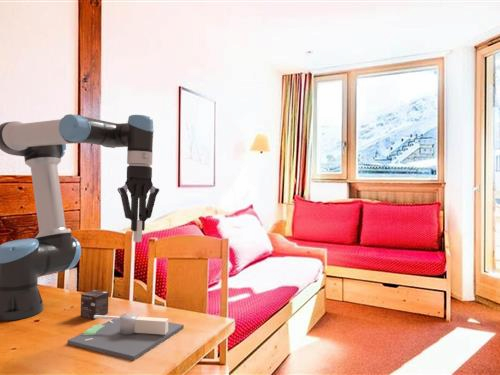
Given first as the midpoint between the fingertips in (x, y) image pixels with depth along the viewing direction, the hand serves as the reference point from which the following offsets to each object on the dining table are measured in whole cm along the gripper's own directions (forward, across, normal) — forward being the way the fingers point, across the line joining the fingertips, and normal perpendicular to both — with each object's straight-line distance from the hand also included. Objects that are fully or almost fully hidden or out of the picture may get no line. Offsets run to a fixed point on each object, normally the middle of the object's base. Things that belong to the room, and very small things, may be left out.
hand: (137, 241), depth 113 cm
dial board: (+25, -6, -9) cm, 27 cm away
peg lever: (+24, -6, -9) cm, 26 cm away
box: (+26, -8, +13) cm, 30 cm away
